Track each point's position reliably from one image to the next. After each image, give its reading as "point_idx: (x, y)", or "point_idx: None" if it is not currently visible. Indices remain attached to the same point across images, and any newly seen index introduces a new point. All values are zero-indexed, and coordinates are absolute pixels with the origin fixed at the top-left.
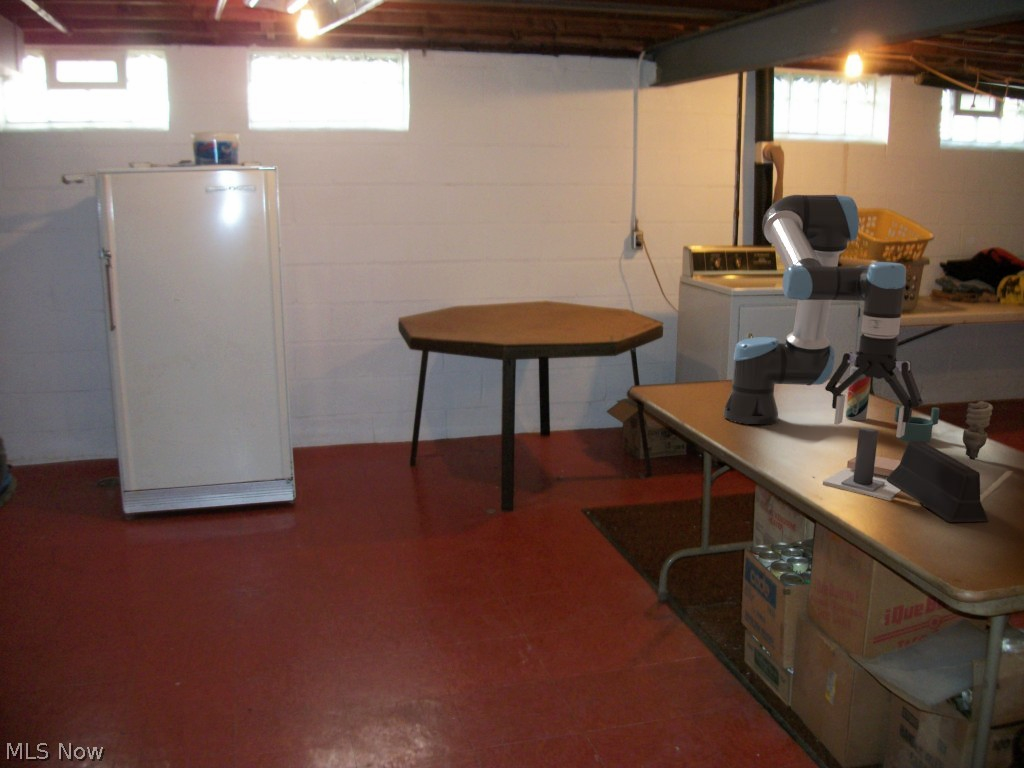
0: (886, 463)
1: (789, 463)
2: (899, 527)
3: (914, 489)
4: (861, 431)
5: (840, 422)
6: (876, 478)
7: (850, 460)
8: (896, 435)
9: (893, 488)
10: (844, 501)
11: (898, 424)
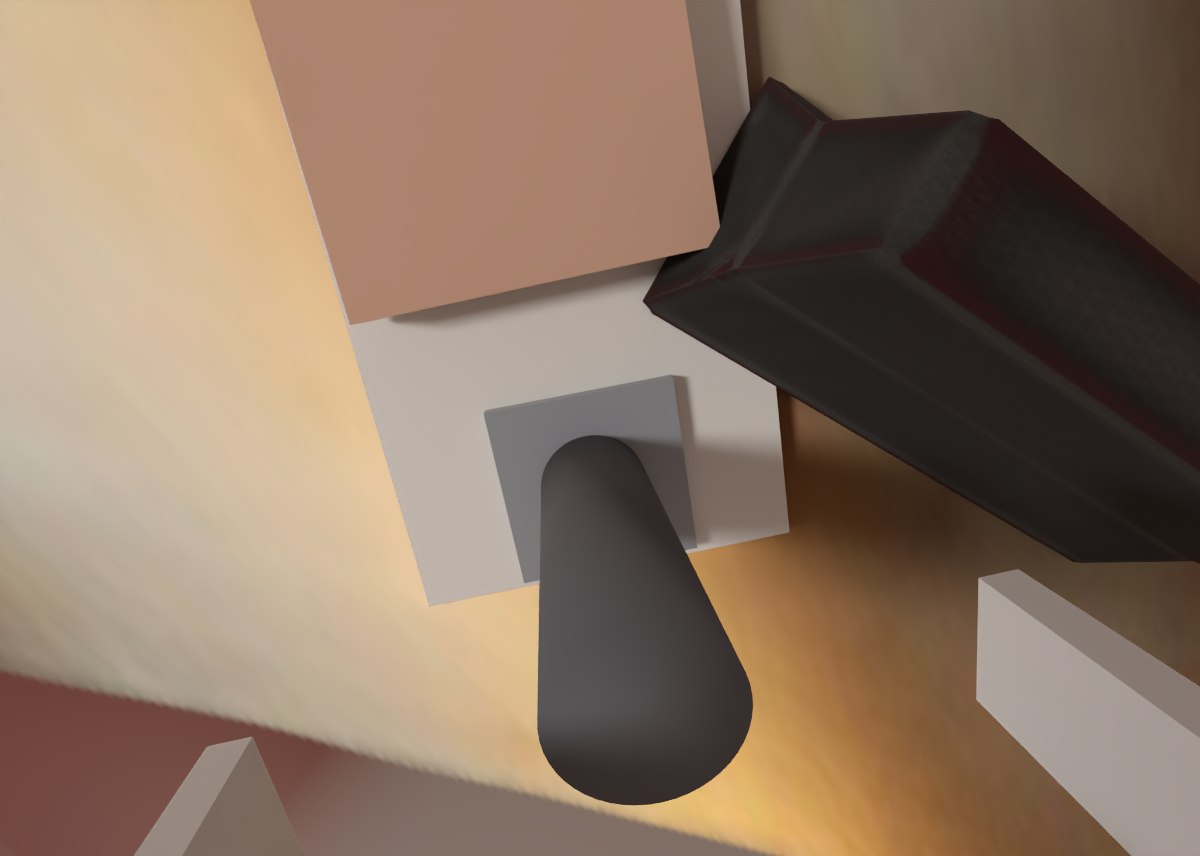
0: (543, 112)
1: (42, 449)
2: (934, 746)
3: (879, 421)
4: (615, 801)
5: (268, 791)
6: (582, 314)
7: (348, 288)
8: (989, 709)
9: (735, 394)
10: None
11: (1123, 833)
